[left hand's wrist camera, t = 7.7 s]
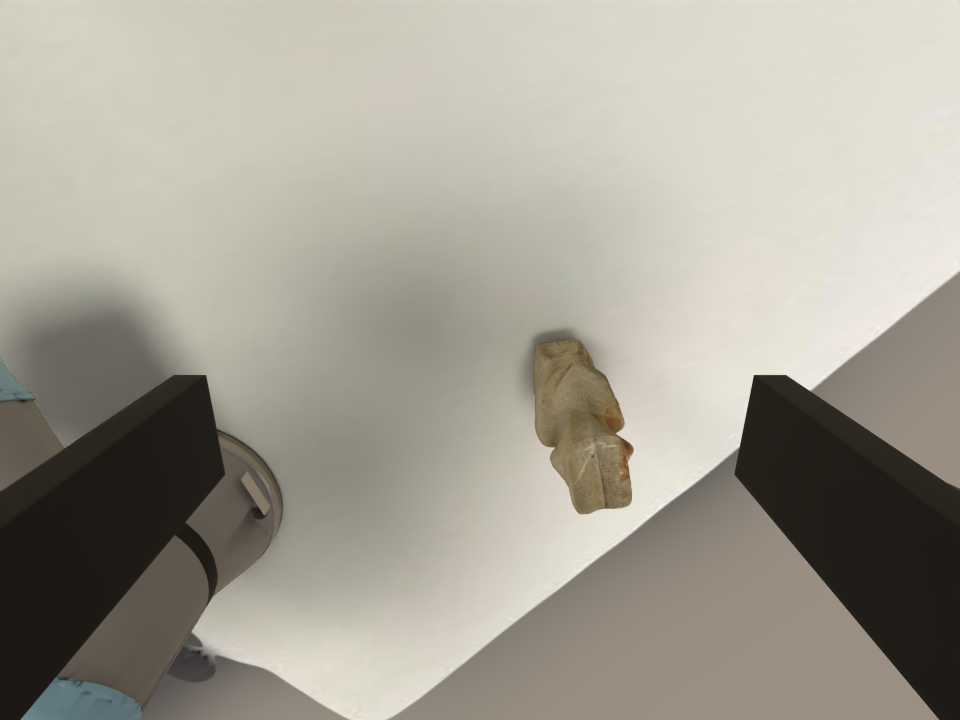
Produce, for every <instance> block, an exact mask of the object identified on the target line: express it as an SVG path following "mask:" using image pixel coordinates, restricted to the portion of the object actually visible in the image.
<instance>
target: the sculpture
mask: <svg viewBox="0 0 960 720" xmlns="http://www.w3.org/2000/svg"><path fill="white" fill-rule="evenodd" d="M533 382H534V392H535V429H536V433H537V436H538V438H539V440H540V441H541V443H542V444H543V445H545V446H547V447H556V448H555V449H554V450H553V451H552V453H551V455H550V460H551V463H552V465H553V467H554V468H555V469H556V471H557V472H558V473H559V474H560V475H561V477H562V478H563V479H564V481H565V482H566V484H567V485H568V487H569V491H570V495H571V500H572V503H573V505H574V508H575V509H576V511H577V512H578V513H579V514H590V513H592V512H594V511H596V510H599V509H616V508H623V507H627V506H628V505H630V504H631V501H632V489H631V481H630V475H629V467H628V460H629V458H630V457H631V455H632V454H633V447H632V445H631V444H630V443H629V442H627V441H626V440H624V439H623V438H621V437H620V436H618V435H617V434H616V433H617V432H618V431H620V430H621V429H622V428H623V427H624V418H623V416H622V413H621V410H620V407H619V403H618V401H617V399H616V398H615V396H614V394H613V391H612V389H611V387H610V385H609V382H608V380H607V378H606V376H605V375H604V374H603V373H601V372H600V371H598V370H597V369H595V366H594V364H593V361H592V359H591V357H590V355H589V354H588V352H587V350H586V349H585V347H584V346H583V344H582V343H581V342H580V341H579V340H575V339H566V340H562V341H557V342H552V343H543V344H539V345H536V346H535V360H534V368H533Z"/></svg>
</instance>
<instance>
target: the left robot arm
mask: <svg viewBox="0 0 960 720" xmlns="http://www.w3.org/2000/svg"><path fill="white" fill-rule="evenodd" d="M33 400H35V398H34V396H33V394H32V393H31V392H28V391H25V390H24V388H23V387H22V386H21V385H20V383H19V382H18V381H17V380H16V378H15V377H14V376H13V374H12V373H11V372H10V371H9V369H8V368H7V367H6V366H5V364H4V363H3V362H2V360H1V359H0V720H140V717H141V716H142V712H143V710H144V709H145V707H146V705H147V704H148V702H149V700H150V699H151V697H152V696H153V694H154V692H155V691H156V689H157V687H158V686H159V684H160V682H161V681H162V679H163V678H164V676H165V674H166V673H167V671H168V669H169V668H170V666H171V664H172V663H173V661H174V659H175V658H176V656H177V654H178V653H179V651H180V649H181V648H182V646H183V645H184V643H185V641H186V640H187V638H188V636H189V635H190V633H191V631H192V630H193V628H194V626H195V625H196V623H197V621H198V620H199V618H200V617H201V615H202V613H203V612H204V610H205V608H206V607H207V605H208V603H209V602H210V600H211V599H212V597H213V596H214V595H215V594H216V593H218V592H219V591H220V590H221V589H223V588H224V587H225V586H226V585H228V584H229V583H230V582H231V581H233V580H234V579H235V578H236V577H238V576H239V575H240V574H241V573H243V572H244V571H245V570H246V569H248V568H249V567H250V566H251V565H253V564H254V563H255V562H256V561H257V560H258V559H259V558H260V557H261V556H262V555H263V554H264V552H265V551H266V549H267V548H268V546H269V544H270V543H271V541H272V539H273V537H274V536H275V534H276V532H277V529H278V527H279V524H280V520H281V512H282V505H281V497H280V493H279V489H278V487H277V484H276V482H275V480H274V478H273V476H272V474H271V473H270V471H269V469H268V468H267V467H266V465H265V464H264V463H263V462H262V461H261V459H260V458H259V457H258V456H257V455H256V454H255V453H253V452H252V451H251V450H250V449H249V448H247V447H246V446H245V445H243V444H242V443H240V442H239V441H237V440H235V439H234V438H232V437H230V436H228V435H226V434H223V433H221V432H218V431H217V429H216V424H215V418H214V413H213V408H212V403H211V398H210V393H209V388H208V383H207V378H206V375H173V376H172V377H170V378H169V379H167V380H166V381H164V382H163V383H162V384H160V385H159V386H157V387H156V388H154V389H153V390H151V391H150V392H148V393H147V394H145V395H144V396H142V397H141V398H139V399H138V400H136V401H135V402H133V403H132V404H130V405H129V406H127V407H126V408H124V409H123V410H121V411H120V412H118V413H117V414H115V415H114V416H112V417H111V418H109V419H108V420H106V421H105V422H103V423H102V424H100V425H99V426H97V427H96V428H94V429H93V430H91V431H90V432H89V433H87V434H86V435H84V436H83V437H81V438H80V439H78V440H77V441H75V442H74V443H72V444H71V445H69V446H68V447H66V448H65V449H64V447H63V446H62V444H61V443H60V442H59V440H58V439H57V437H56V436H55V434H54V433H53V431H52V430H51V428H50V427H49V425H48V423H47V422H46V420H45V419H44V417H43V416H42V414H41V413H40V411H39V410H38V408H37V407H36V405H35V403H34V402H33ZM735 476H736V477H737V478H738V479H739V480H740V482H741V483H742V484H743V485H744V486H745V488H746V489H747V490H748V491H749V492H750V494H751V495H752V496H753V497H754V498H755V500H756V501H757V502H758V503H759V504H760V506H761V507H762V508H763V509H764V510H765V512H766V513H767V514H768V515H769V516H770V518H771V519H772V520H773V521H774V522H775V524H776V525H777V526H778V527H779V528H780V529H781V531H782V532H783V533H784V534H785V535H786V537H787V538H788V539H789V540H790V541H791V543H792V544H793V545H794V546H795V547H796V549H797V550H798V551H799V552H800V553H801V555H802V556H803V557H804V558H805V559H806V561H807V562H808V563H809V564H810V565H811V567H812V568H813V569H814V570H815V571H816V573H817V574H818V575H819V576H820V577H821V579H822V580H823V581H824V582H825V583H826V585H827V586H828V587H829V588H830V589H831V591H832V592H833V593H834V594H835V595H836V597H837V598H838V599H839V600H840V601H841V602H842V604H843V605H844V606H845V607H846V609H847V610H848V611H849V612H850V613H851V614H852V616H853V617H854V618H855V619H856V620H857V622H858V623H859V624H860V625H861V626H862V628H863V629H864V630H865V631H866V632H867V634H868V635H869V636H870V637H871V638H872V640H873V641H874V642H875V643H876V644H877V646H878V647H879V648H880V649H881V650H882V652H883V653H884V654H885V655H886V656H887V658H888V659H889V660H890V661H891V662H892V664H893V665H894V666H895V667H896V668H897V670H898V671H899V672H900V673H901V674H902V675H903V677H904V678H905V679H906V680H907V682H908V683H909V684H910V685H911V686H912V688H913V689H914V690H915V691H916V692H917V694H918V695H919V696H920V697H921V698H922V699H923V701H924V702H925V703H926V704H927V705H928V707H929V708H930V709H931V710H932V711H933V713H934V714H935V715H936V716H937V717H938V719H939V720H960V489H959V488H957V487H955V486H953V485H950V484H948V483H946V482H944V481H943V480H942V479H940V478H939V477H937V476H936V475H934V474H933V473H931V472H930V471H928V470H927V469H925V468H924V467H922V466H921V465H919V464H918V463H916V462H915V461H913V460H912V459H910V458H909V457H907V456H906V455H904V454H903V453H901V452H900V451H898V450H897V449H895V448H894V447H892V446H891V445H889V444H888V443H886V442H885V441H883V440H882V439H880V438H879V437H877V436H876V435H874V434H873V433H871V432H870V431H869V430H867V429H866V428H864V427H863V426H861V425H860V424H858V423H857V422H855V421H854V420H852V419H851V418H849V417H848V416H846V415H845V414H843V413H842V412H840V411H839V410H837V409H836V408H834V407H833V406H831V405H830V404H828V403H827V402H825V401H824V400H822V399H821V398H819V397H818V396H816V395H815V394H813V393H812V392H810V391H809V390H807V389H806V388H804V387H803V386H801V385H800V384H798V383H797V382H796V381H794V380H793V379H791V378H790V377H788V376H787V375H754V378H753V383H752V388H751V393H750V398H749V403H748V408H747V413H746V418H745V424H744V429H743V434H742V439H741V444H740V449H739V454H738V459H737V464H736V469H735Z"/></svg>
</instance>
